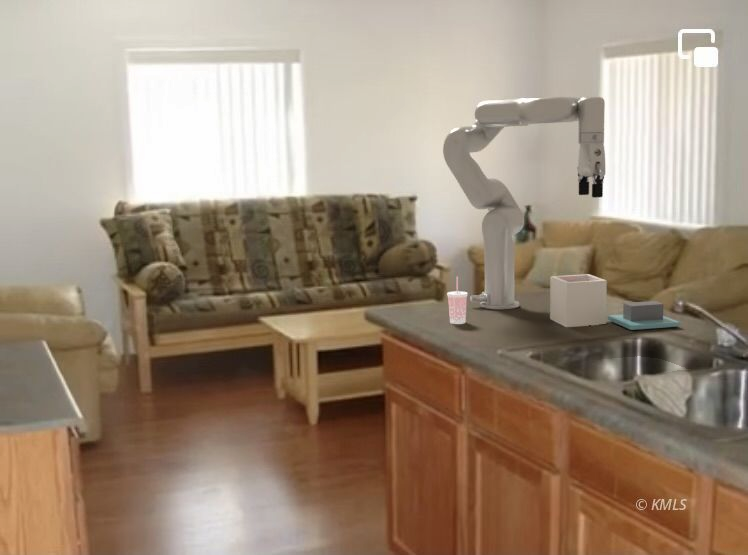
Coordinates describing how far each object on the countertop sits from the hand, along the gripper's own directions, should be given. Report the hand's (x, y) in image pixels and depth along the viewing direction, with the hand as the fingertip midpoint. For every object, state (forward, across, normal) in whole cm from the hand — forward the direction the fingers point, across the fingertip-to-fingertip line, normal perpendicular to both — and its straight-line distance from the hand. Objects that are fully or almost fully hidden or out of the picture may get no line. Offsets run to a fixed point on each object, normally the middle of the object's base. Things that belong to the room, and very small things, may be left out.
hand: (590, 196), depth 302 cm
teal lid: (+36, -20, -8) cm, 42 cm away
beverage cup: (+36, 0, +42) cm, 56 cm away
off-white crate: (+36, -10, +8) cm, 38 cm away
